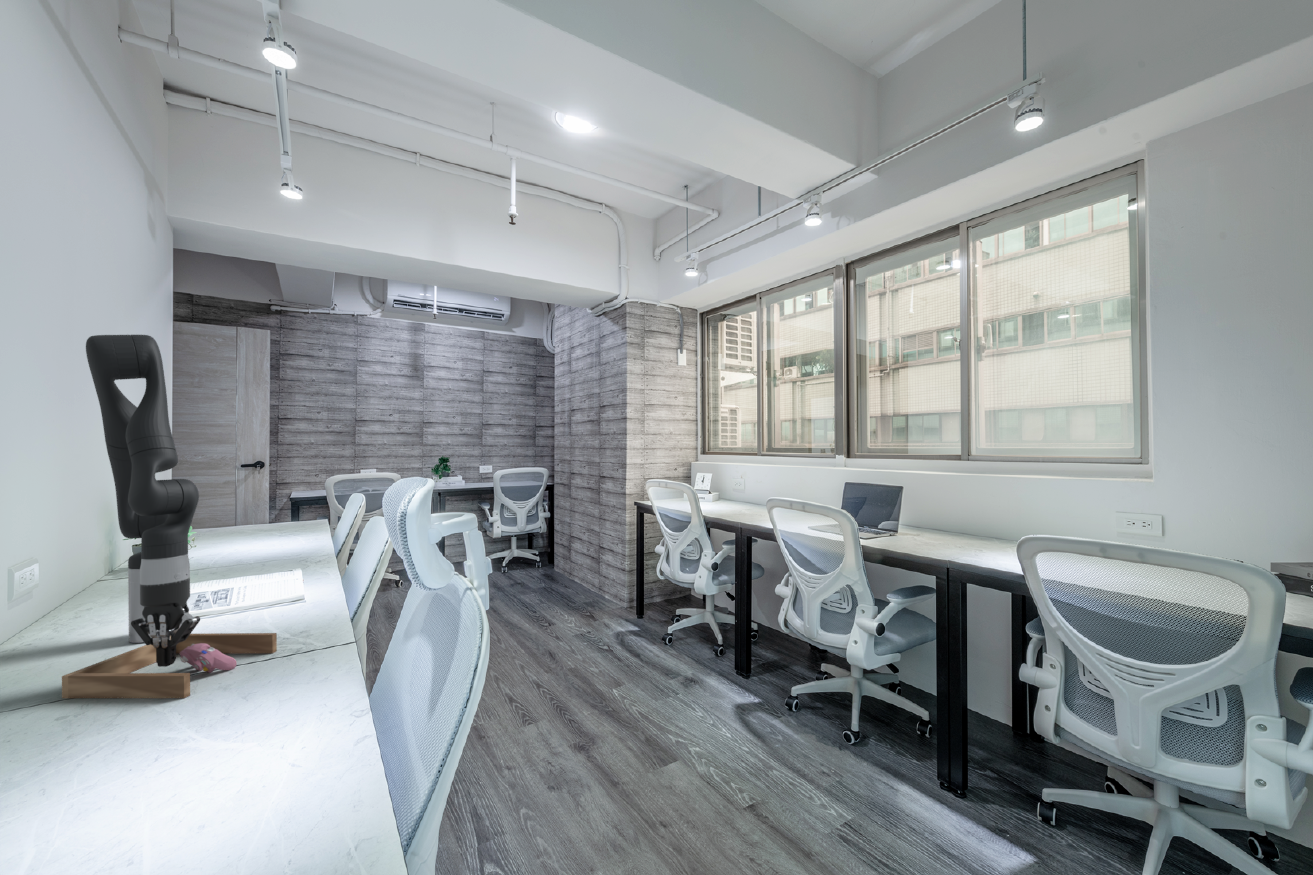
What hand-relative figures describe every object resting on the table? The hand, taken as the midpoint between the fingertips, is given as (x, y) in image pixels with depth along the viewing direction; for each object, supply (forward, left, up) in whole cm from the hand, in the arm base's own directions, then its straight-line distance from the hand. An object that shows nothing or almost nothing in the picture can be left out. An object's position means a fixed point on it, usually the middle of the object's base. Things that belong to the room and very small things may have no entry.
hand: (166, 665), depth 110 cm
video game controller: (-1, +7, -2) cm, 8 cm away
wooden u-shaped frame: (0, +3, -2) cm, 3 cm away
